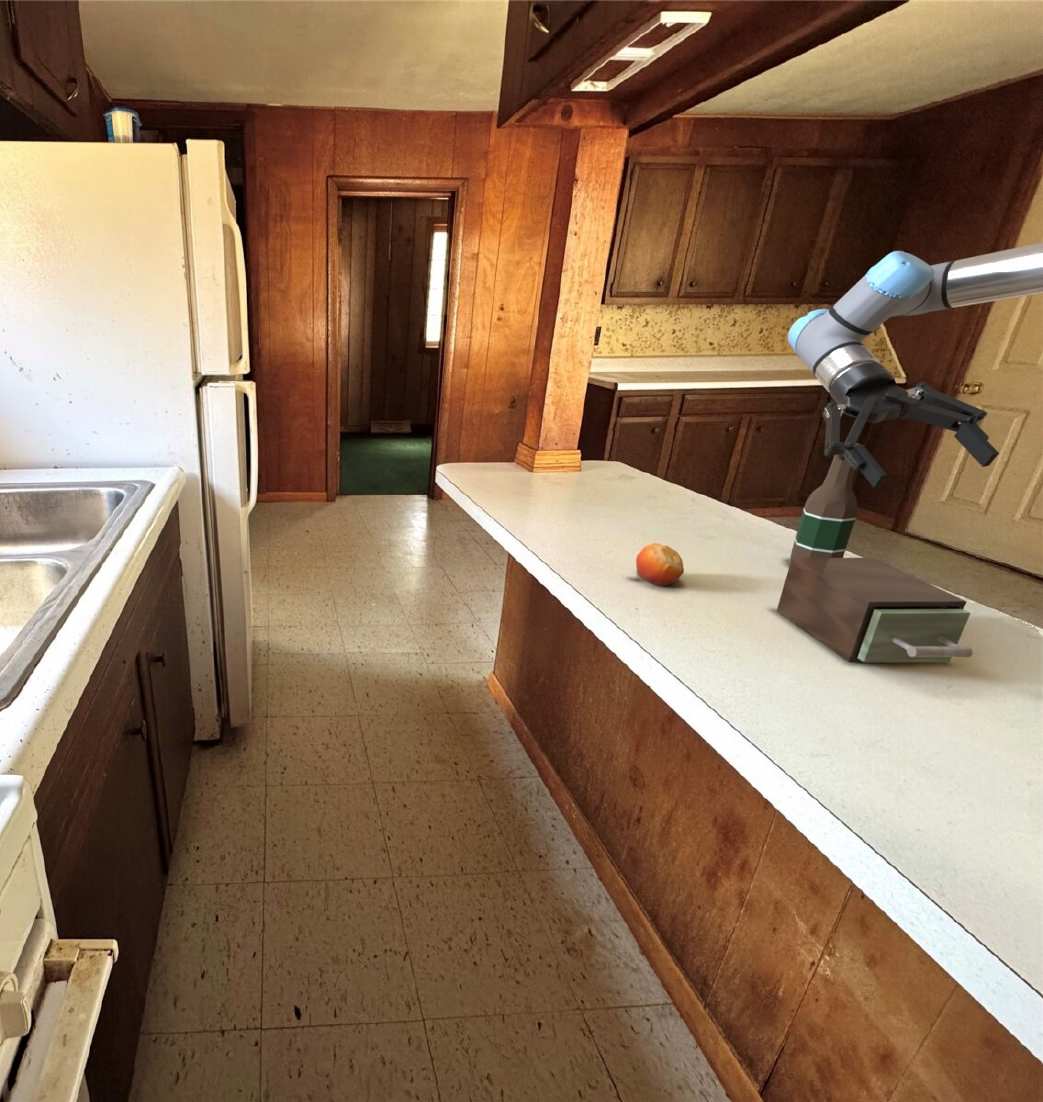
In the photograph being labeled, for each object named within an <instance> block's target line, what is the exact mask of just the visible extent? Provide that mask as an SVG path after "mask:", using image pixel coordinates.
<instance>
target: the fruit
mask: <svg viewBox="0 0 1043 1102" xmlns="http://www.w3.org/2000/svg"><path fill="white" fill-rule="evenodd" d="M635 564H636V565H635V567H636V576H635V577H633V580H636V579H642V580H644V581H646V582H647V583H650V584H653V585H655V586H659V587H664V586H669V585H670V584H673V583H675V581H677V580H679V579H680V578H681V577H682V575H684V573H685V568H684V561H683V559H682V556H681V555H680V553H679V552H678V551H676V550H675V549H673V548H672V547H670V546H669V545H664V544H660V543H657V542H654V543H651V544H648V545H646V546H644V547H643V548H642V549H641V550H640V552H639V553H638V554H637V556H636V559H635Z"/></svg>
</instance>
